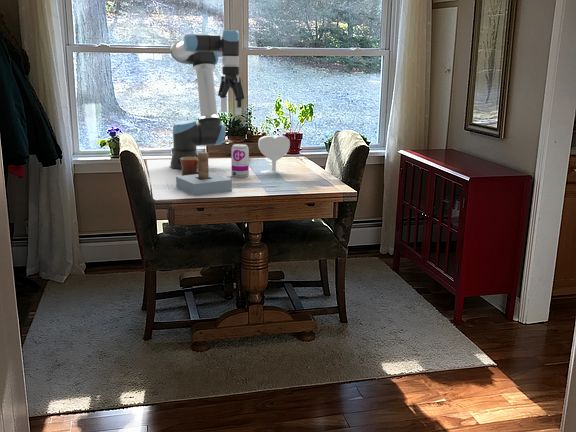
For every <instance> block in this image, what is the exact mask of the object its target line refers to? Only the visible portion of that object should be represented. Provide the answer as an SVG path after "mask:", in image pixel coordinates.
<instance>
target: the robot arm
mask: <svg viewBox="0 0 576 432" xmlns="http://www.w3.org/2000/svg"><path fill="white" fill-rule="evenodd" d="M218 53H222V54H221V57H222V58H221V61H222V65H223V66H222V68H221V69H222V72H221V73H222V75H221V77H220V84H219V89H218V93H217V95H218V97H219V98H220V112H221V113H227V112H228V98H227V95H228V92H229V90H230V89H232V92H233V95H234V97H235V99H234V100H235V101H234V103H235V105H234V109H235V110H234V113H235V114H234V115H235V116H242V101H243V100H245V94H244V91H243V90H244V89H243V85H242V80H241V77H238V75H239V74H240V67H239V65H240V33H239V30H234V29H233V30H232V29H230V30H229V29H226V30H225V29H224V30H222V32H221V34H197V33H195V34H194V33H189V34H184V36H183V40H177V41H175V42H174V43H172V45H171V47H170V55H171V57H172V59H173V60H174V61H176V62H178V63H180V64H182V65H184V64H185V65H192V69H193V70H194V71H195V72H196V81H197V93H198V102H199V104H198V105H199V111H200V113H199V114H200V117H199V118H198V120H197V121H196V120H194V119H190V120H189V119H188V120H182V121H181V120H180V121H177V122H175V123H174V124H173V125H172V137H173V138H172V141H173V143H172V145H173V154H172V155H171V156H172V157H171V161H170V168H172V169H177V170H182V164H181V161H180V158H182V157H198V152H197V147H199V146H200V147H202V146H203V147H204V146H213V147H214V146H218V145H219V146H220V145H222V144H223V143H224V141H225V138H226V125H225V124H226V123H225V122H223V121H222V120H221V117H220V116H219V115H218V110H217V97H216V88H215V80H214V69H215V68H216V65H217V64H218V63H219V54H218Z"/></svg>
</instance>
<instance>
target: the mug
mask: <svg viewBox="0 0 576 432" xmlns="http://www.w3.org/2000/svg"><path fill="white" fill-rule="evenodd" d="M180 161H181V164H182V169H181V176H184V175H193V174H198V157H182V158H180Z"/></svg>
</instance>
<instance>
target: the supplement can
mask: <svg viewBox="0 0 576 432" xmlns="http://www.w3.org/2000/svg"><path fill="white" fill-rule="evenodd" d="M230 150H231V154H230V155H231V156H230V157H231V176H232V177H234V178H246V177H248V176H249V175H250V173H249V171H250V167H249V166H250V164H249V162H250V161H249V159H250V158H249V157H250V156H249V155H250V151H249V146H248V145H247V144H244V143H237V144H236V143H235V144H232V147H231V148H230Z"/></svg>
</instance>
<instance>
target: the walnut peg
mask: <svg viewBox="0 0 576 432" xmlns="http://www.w3.org/2000/svg"><path fill="white" fill-rule="evenodd" d="M197 155H198V179H199V180H205V179H209V173H210V172H209V152H207V151H205V152H204V151H201V152H197Z"/></svg>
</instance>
